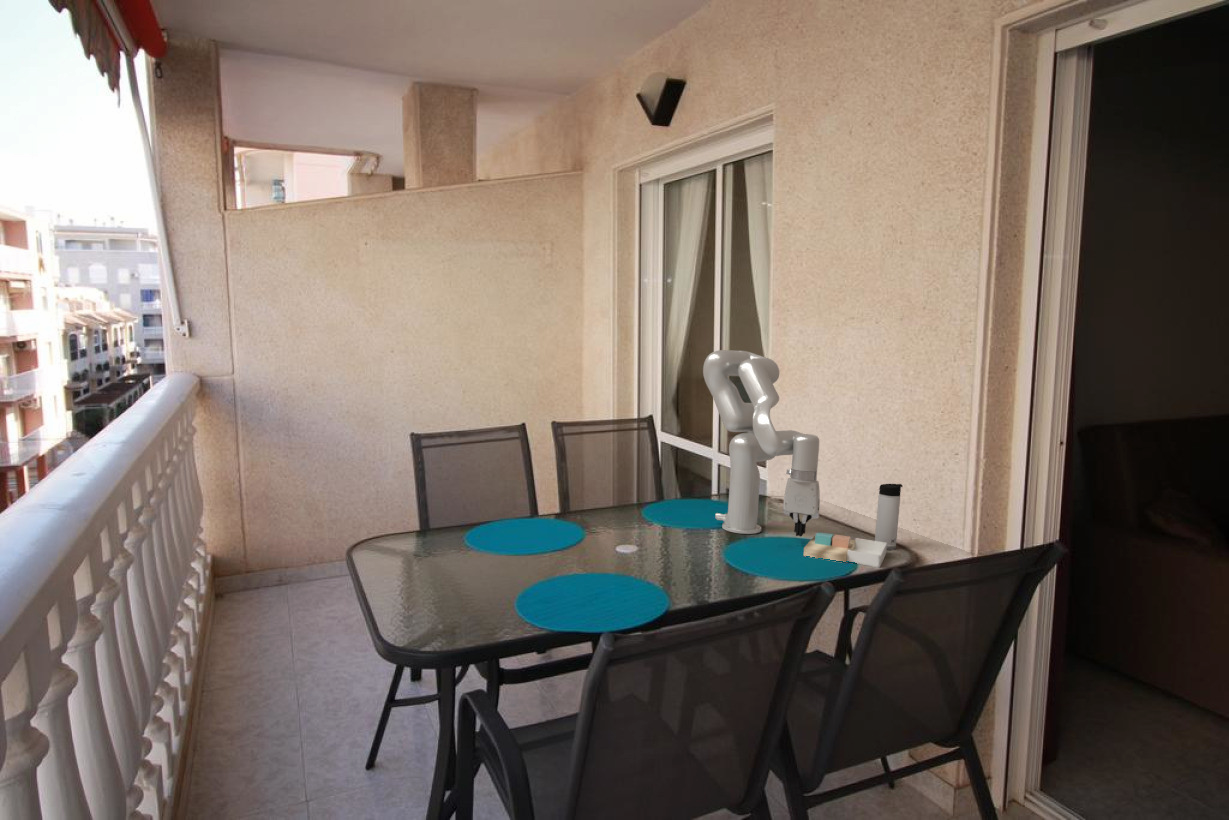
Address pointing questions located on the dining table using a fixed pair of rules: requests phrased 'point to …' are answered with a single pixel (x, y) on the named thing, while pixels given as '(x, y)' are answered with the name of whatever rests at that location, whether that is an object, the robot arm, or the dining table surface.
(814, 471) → the robot arm
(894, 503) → the travel mug
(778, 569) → the dining table surface
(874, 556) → the tray
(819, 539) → the tile teal
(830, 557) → the board
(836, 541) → the tile terracotta
